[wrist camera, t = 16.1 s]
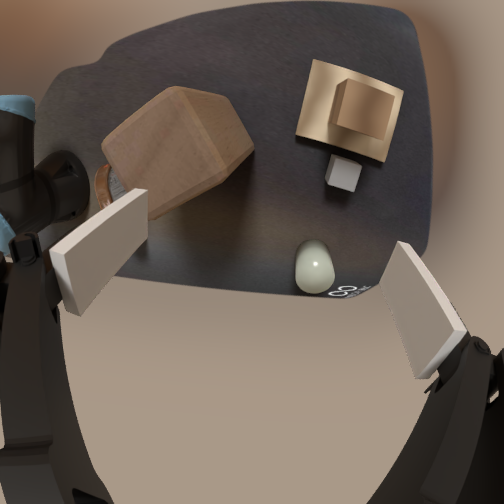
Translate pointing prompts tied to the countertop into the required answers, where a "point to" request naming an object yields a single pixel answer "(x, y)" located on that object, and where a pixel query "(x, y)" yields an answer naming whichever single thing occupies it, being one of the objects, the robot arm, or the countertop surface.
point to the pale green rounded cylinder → (314, 266)
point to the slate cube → (343, 172)
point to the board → (319, 109)
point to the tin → (107, 186)
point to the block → (177, 147)
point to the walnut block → (361, 108)
